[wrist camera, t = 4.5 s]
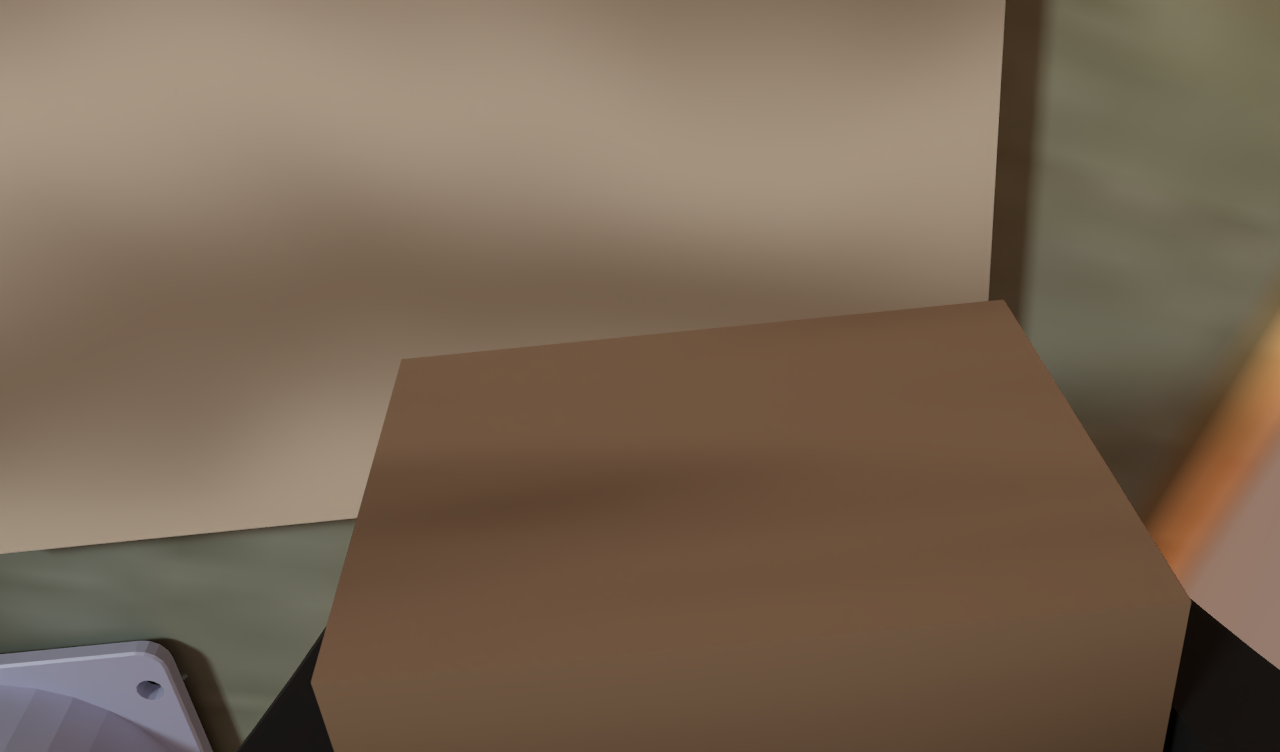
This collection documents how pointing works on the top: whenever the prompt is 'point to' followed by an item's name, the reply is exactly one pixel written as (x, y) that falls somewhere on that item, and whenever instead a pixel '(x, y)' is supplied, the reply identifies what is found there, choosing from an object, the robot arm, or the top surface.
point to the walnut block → (749, 552)
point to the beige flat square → (433, 215)
